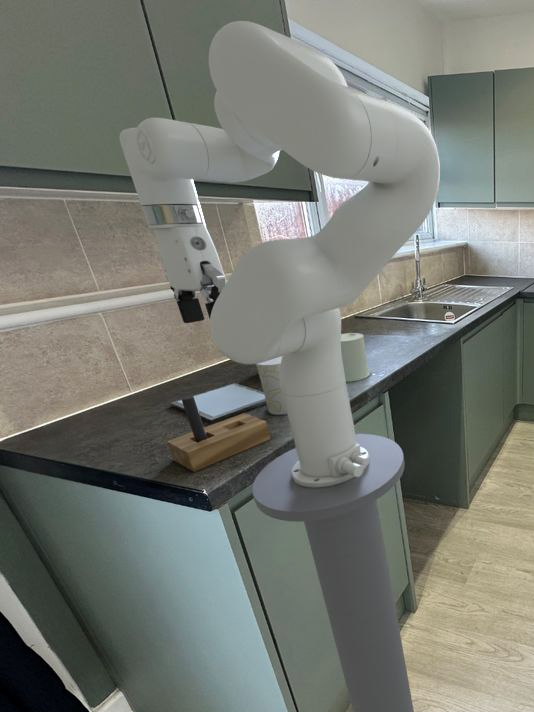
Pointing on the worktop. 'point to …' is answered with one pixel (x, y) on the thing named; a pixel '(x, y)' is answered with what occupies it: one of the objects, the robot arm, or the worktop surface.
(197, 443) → the holder
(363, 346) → the pale green tapered cylinder
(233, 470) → the worktop surface
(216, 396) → the tablet
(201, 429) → the stylus
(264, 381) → the cup
